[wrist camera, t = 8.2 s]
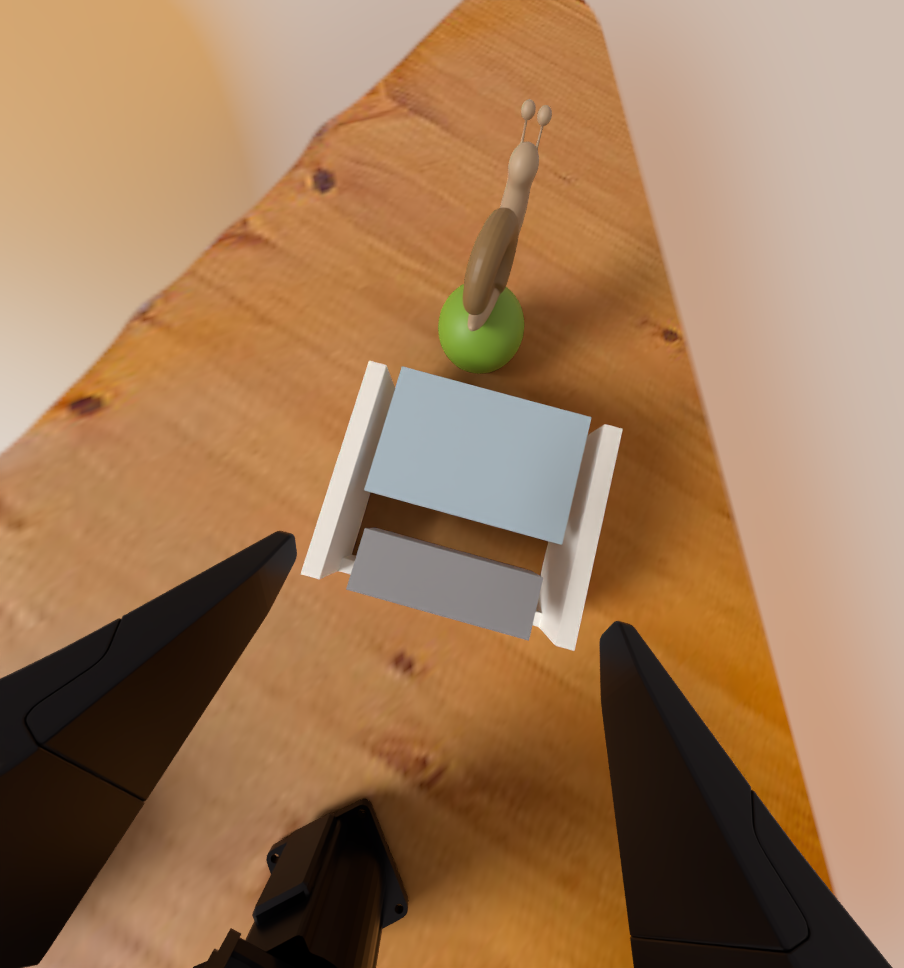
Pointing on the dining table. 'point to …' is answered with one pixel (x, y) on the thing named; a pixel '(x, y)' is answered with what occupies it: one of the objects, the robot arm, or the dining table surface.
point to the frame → (562, 563)
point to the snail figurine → (493, 273)
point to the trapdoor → (468, 496)
